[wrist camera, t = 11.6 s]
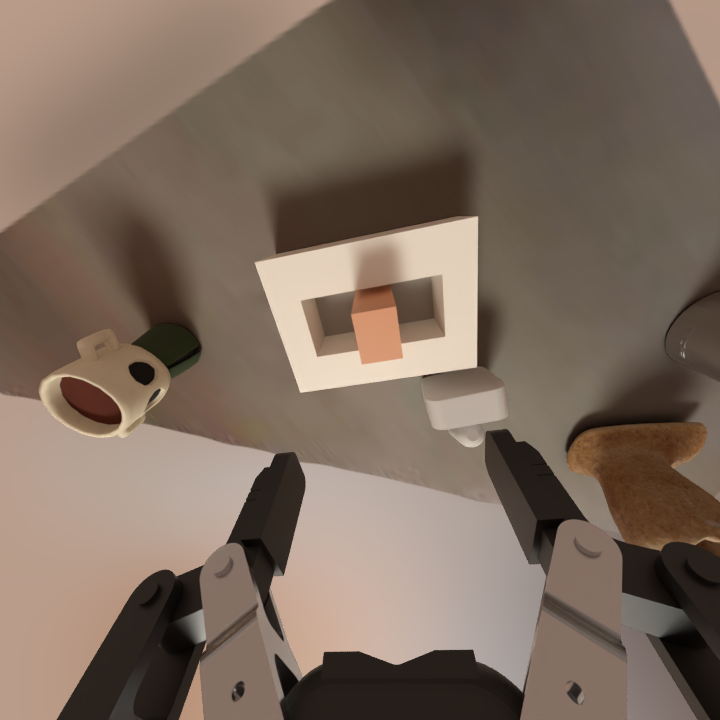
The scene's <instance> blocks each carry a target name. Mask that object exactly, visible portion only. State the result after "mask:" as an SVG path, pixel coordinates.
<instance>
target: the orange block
mask: <svg viewBox="0 0 720 720" xmlns="http://www.w3.org/2000/svg"><path fill="white" fill-rule="evenodd" d="M351 317H352V321H353V326H354V331H355V335H356V340H357V344H358V349H359V354H360V358H361V363H362V364H369V363H376V362H382V361H389V360H395V359H402V358H403V354H402V346H401V339H400V331H399V324H398V317H397V309H396V304H395V301H394V297H393V293H392V290H391V286H390V284H388V285H382V286H377V287H371V288H366V289H361V290H356V292H355V297H354V302H353V307H352V312H351Z"/></svg>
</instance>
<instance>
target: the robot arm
mask: <svg viewBox="0 0 720 720" xmlns="http://www.w3.org/2000/svg"><path fill="white" fill-rule="evenodd" d="M665 347H666V351H667V354H668V355H669V356H670V357H671V358H672V359H673V360H675V361H677V362H679V363H681V364H683V365H685V366H687V367H689V368H691V369H693V370H695V371H697V372H700V373H702V374H704V375H706V376H708V377H710V378H712V379H714V380H716V381H718V382H720V291H719V292H716V293H713V294H711V295H709V296H706V297H704V298H702V299H701V300H699V301H697V302H696V303H694V304H693V305H691V306H690V307H689V308H688V309H686V310H685V311H684V312H683V313H682V314H681V315H680V316H679V317H678V318H677V319H676V321H675V322H674V323H673V325H672V326H671V328H670V330H669V332H668V334H667V337H666V342H665ZM485 463H486V467H487V471H488V474H489V476H490V478H491V480H492V483H493V485H494V487H495V489H496V492H497V494H498V496H499V498H500V500H501V503H502V505H503V507H504V509H505V512H506V514H507V516H508V518H509V520H510V523H511V525H512V527H513V529H514V532H515V534H516V536H517V538H518V540H519V543H520V545H521V547H522V549H523V551H524V554H525V556H526V558H527V560H528V563H529V564H541V566H542V568H543V570H544V572H545V574H546V580H545V586H544V591H543V595H542V600H541V605H540V610H539V615H538V620H537V624H536V629H535V634H534V639H533V644H532V648H531V653H530V657H529V662H528V667H527V672H526V676H525V681H524V687H523V691H522V692H521V691H520V690H519V689H518V688H517V686H515V685H514V684H513V683H512V682H511V681H509V680H508V679H507V678H506V677H505V676H503V675H502V674H500V673H499V672H497V671H496V670H494V669H492V668H490V667H488V666H486V665H485V664H482V663H479V662H476V660H475V656H474V652H473V650H434V651H432V652H429V653H427V654H425V655H422V656H420V657H417V658H415V659H412V660H410V661H407V662H405V663H403V664H400V665H394V664H390V663H388V662H385V661H383V660H380V659H377V658H375V657H372V656H370V655H367V654H364V653H362V652H359V651H358V652H324V656H323V664H322V665H320V666H318V667H316V668H315V669H313V670H312V671H310V672H309V673H308V674H306V675H305V676H304V677H302V674H301V671H300V668H299V666H298V664H297V661H296V659H295V657H294V655H293V653H292V651H291V648H290V646H289V643H288V640H287V637H286V635H285V631H284V628H283V625H282V622H281V619H280V616H279V613H278V610H277V607H276V604H275V601H274V598H273V595H272V591H271V589H270V585H271V582H272V578H273V576H283V575H284V572H285V568H286V565H287V560H288V556H289V552H290V548H291V544H292V540H293V536H294V532H295V528H296V524H297V520H298V516H299V512H300V508H301V504H302V500H303V496H304V492H305V476H304V473H303V471H302V468H301V466H300V463H299V461H298V459H297V456H296V454H295V453H294V452H288V453H279V454H276V455H275V456H274V458H273V461H272V463H271V466H270V467H267V468H264V469H263V471H262V472H261V473H260V474H259V475H258V476H257V477H256V479H255V481H254V484H253V486H252V488H251V492H250V493H249V495H248V497H247V499H246V502H245V503H244V506H243V508H242V510H241V513H240V515H239V517H238V519H237V521H236V524H235V526H234V528H233V530H232V533H231V535H230V537H229V539H228V541H227V543H226V545H224V546H222V547H220V548H219V549H217V550H216V551H215V552H214V553H213V554H212V555H211V556H210V557H209V558H208V559H207V561H206V562H205V564H204V565H203V566H201V567H198V568H196V569H194V570H191V571H189V572H186V573H184V574H182V575H179V576H175V574H174V573H173V572H172V571H170V570H161V571H158V572H156V573H154V574H152V575H151V576H149V577H148V578H146V579H145V580H144V581H143V582H142V583H141V584H140V585H139V586H138V587H137V588H136V589H135V591H134V592H133V593H132V595H131V596H130V598H129V599H128V601H127V603H126V604H125V606H124V608H123V609H122V611H121V613H120V614H119V616H118V618H117V619H116V621H115V623H114V624H113V626H112V628H111V629H110V631H109V633H108V635H107V636H106V638H105V640H104V641H103V643H102V645H101V646H100V648H99V650H98V651H97V653H96V655H95V656H94V658H93V660H92V661H91V663H90V665H89V666H88V668H87V670H86V671H85V673H84V675H83V677H82V678H81V680H80V682H79V683H78V685H77V687H76V688H75V690H74V692H73V693H72V695H71V697H70V698H69V700H68V702H67V703H66V705H65V707H64V708H63V710H62V712H61V713H60V715H59V717H58V718H57V720H179V717H180V715H181V712H182V709H183V706H184V703H185V700H186V697H187V695H188V692H189V689H190V686H191V683H192V680H193V677H194V675H195V672H196V669H197V666H198V663H199V661H200V679H201V690H202V701H203V713H204V720H627V654H626V650H625V647H624V646H623V645H622V642H621V625H624V626H627V627H630V628H633V629H636V630H639V631H642V632H645V633H646V635H647V637H648V638H649V640H650V642H651V643H652V645H653V647H654V648H655V650H656V652H657V653H658V655H659V657H660V658H661V660H662V662H663V663H664V665H665V667H666V668H667V670H668V672H669V673H670V675H671V676H672V678H673V680H674V681H675V683H676V685H677V686H678V688H679V690H680V691H681V693H682V695H683V696H684V698H685V700H686V701H687V703H688V705H689V706H690V708H691V710H692V711H693V713H694V714H695V716H696V718H697V719H698V720H720V557H718V556H716V555H715V554H713V553H711V552H709V551H707V550H705V549H703V548H701V547H698V546H696V545H693V544H689V543H684V542H670V543H667V544H666V545H664V546H663V548H662V549H661V551H659V550H655V549H651V548H646V547H642V546H638V545H633V544H629V543H625V542H622V541H619V540H616V539H613V538H611V537H610V536H609V535H608V534H607V533H606V532H604V531H603V530H602V529H600V528H599V527H597V526H595V525H593V524H591V523H590V522H589V521H588V520H587V519H586V518H585V517H584V516H583V514H582V513H581V511H580V510H579V508H578V507H577V506H576V504H575V503H574V501H573V500H572V499H571V497H570V496H569V494H568V493H567V491H566V490H565V489H564V487H563V486H562V484H561V483H560V482H559V480H558V479H557V477H556V476H554V473H553V472H552V470H551V469H550V467H549V466H547V463H546V462H545V460H544V459H543V457H542V456H541V455H540V453H539V452H538V451H537V450H536V449H535V448H533V447H532V446H531V445H529V444H528V443H527V442H525V441H523V442H516V441H515V440H514V438H513V436H512V435H511V433H510V432H509V431H508V430H507V429H503V430H493V431H487V432H486V439H485ZM206 642H207V648H206V651H204V652H203V649H204V646H205V643H206ZM202 652H203V653H202Z"/></svg>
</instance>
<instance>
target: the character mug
mask: <svg viewBox="0 0 720 720" xmlns="http://www.w3.org/2000/svg"><path fill="white" fill-rule="evenodd" d="M102 342H104V343H105V347H103V348H101V349H99V350H97V351H95V346H96V345H98V344H100V343H102ZM197 346H199V344H198V342H197V340H196V339H195V338H194V336H193V335H192V334H191V333H190V332H188V331H187V330H185V329H184V328H183V327H181V326H177V325H172V324H160V325H156V326H154V327H153V328H151V329H150V330H149V331H147V332H146V333H145V334H143V335H142V336H141V337H140V338H138V339H137V340H136V341H135V342H133V343H132V344H119V342H118V339H117V336H116V334H115V333H114V332H113V331H112V330H111V329H104V330H102V331H99V332H97V333H94V334H92V335H90V336H87V337H85V338H83V339H81V340H79V341H78V342H77V348H78V350H79V352H80V355H81V357H82V358H80V359H78V360H76V361H74V362H72V363H70V364H68V365H66V366H64V367H62V368H60V369H58V370H56V371H55V372H53V373H51V374H50V375H48V376H47V377H46V378H44V379H43V380H41V383H40V387H39V391H38V392H39V395H40V398H41V401H42V404H43V405H44V406H45V407H46V409H47V410H48V411H49V412H50V414H51V415H52V416H53V417H54V418H56V419H57V420H59V421H60V422H61V423H63V424H64V425H65V426H67V427H68V428H71V429H73V430H75V431H77V432H79V433H81V434H84V435H89V436H93V437H98V438H102V437H112V436H114V435H116V434H117V435H118V436H120V437H121V438H123V437H125V436H127V435H129V434H130V433H131V432H133V431H134V430H135V429H136V428H137V427H138V426H139V425H140V424H141V423H143V422H144V420H145V419H146V415H145V413H146V412H147V411H148V410H149V409H150V408H151V407H153V406H154V405H155V404H157V403H158V402H159V401H160V400H161V399H162V398H163V397H164V395H165V394H166V392H167V390H168V388H169V384H170V380H171V379H172V378H174V377H176V376H177V375H179V374H181V373H182V372H184V371H185V370H187V369H189V368H190V367H191V366H193V365H194V364H196V363H197V362H198V360H199V358H200V355H201V353H200V352H199V353H197V354H196V355H194V356H193V349H194V348H196V347H197Z"/></svg>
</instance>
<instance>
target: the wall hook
mask: <svg viewBox="0 0 720 720" xmlns="http://www.w3.org/2000/svg"><path fill="white" fill-rule="evenodd" d="M420 383H421V388H422V392H423V397H424V401H425V406H426V409H427V412H428V415H429V418H430V421H431V424H432V426H433V428H435V429H439V430H449V432H450V434H451V435H452V436H453V437H454V438H455V439H456V440H458V441H459V442H460V443H461V444H463V445H464V446H467V447H476V446H478V445H480V444H481V443H482V441H483V439H484V431H483V428H482V427H481V426H480V424H481V423H486V422H491V421H497V420H501V419H504V418H506V417H507V416H508V415H509V411H508V404H507V398H506V391H505V385H504V382H502V381H501V380H500V379H499V378H497V377H496V376H495V375H494V374H492V373H491V372H490V371H489V370H487V369H486V368H485V367H479V366H478V367H476V368H469V369H462V370H456V371H451V372H446V373H442V374H437V375H432V376H428V377H425V378H423V379H422V380H421V381H420Z"/></svg>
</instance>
